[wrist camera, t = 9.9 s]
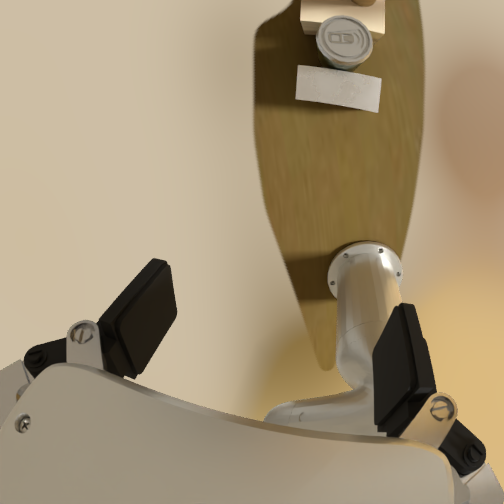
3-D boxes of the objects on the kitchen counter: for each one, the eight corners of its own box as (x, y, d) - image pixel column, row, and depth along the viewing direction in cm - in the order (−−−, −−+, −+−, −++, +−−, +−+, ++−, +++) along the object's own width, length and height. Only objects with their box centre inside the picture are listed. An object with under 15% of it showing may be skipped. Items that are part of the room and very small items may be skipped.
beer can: (319, 75, 30) (318, 63, 20) (315, 38, 28) (312, 12, 18) (360, 76, 29) (377, 66, 19) (357, 39, 26) (371, 15, 16)
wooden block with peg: (373, 44, 26) (400, 18, 14) (304, 34, 27) (293, 0, 16) (374, 7, 23) (398, -33, 11) (306, -3, 24) (295, -49, 13)
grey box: (368, 110, 31) (377, 112, 25) (300, 99, 33) (295, 99, 27) (370, 82, 29) (381, 78, 23) (302, 71, 30) (297, 64, 25)
